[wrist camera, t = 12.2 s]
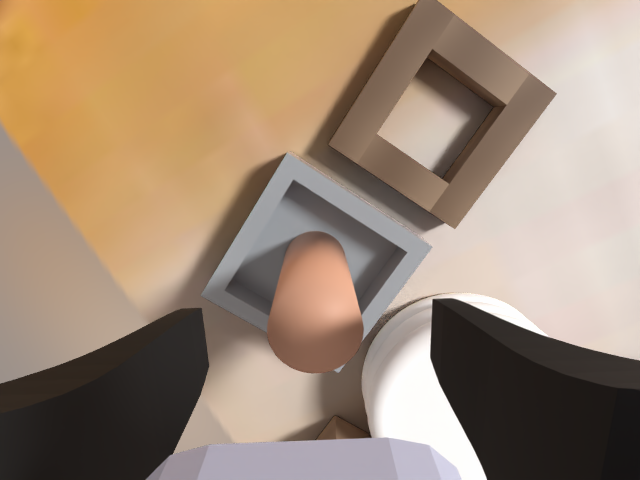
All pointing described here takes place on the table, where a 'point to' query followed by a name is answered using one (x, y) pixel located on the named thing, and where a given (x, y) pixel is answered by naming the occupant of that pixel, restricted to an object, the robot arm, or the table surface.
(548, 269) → the table surface
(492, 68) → the collar
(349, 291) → the dowel
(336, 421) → the brown rectangular block
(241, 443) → the robot arm
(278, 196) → the tray
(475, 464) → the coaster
